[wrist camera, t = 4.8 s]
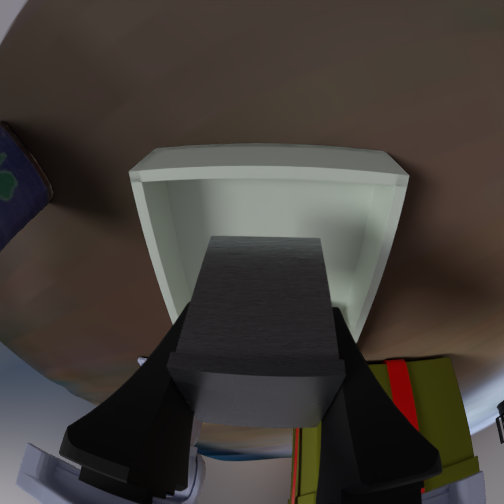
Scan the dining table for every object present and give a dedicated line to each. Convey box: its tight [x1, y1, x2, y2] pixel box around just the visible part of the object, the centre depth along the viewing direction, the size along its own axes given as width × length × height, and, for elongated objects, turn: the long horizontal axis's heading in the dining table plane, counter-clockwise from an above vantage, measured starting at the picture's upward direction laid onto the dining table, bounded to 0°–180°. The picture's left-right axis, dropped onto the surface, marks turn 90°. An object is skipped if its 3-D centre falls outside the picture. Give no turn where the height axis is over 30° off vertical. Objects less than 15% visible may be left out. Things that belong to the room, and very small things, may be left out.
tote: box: [129, 143, 409, 343], centre depth 19 cm, size 18×13×4 cm
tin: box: [166, 236, 346, 428], centre depth 10 cm, size 5×5×6 cm
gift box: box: [288, 357, 480, 504], centre depth 22 cm, size 21×21×25 cm
